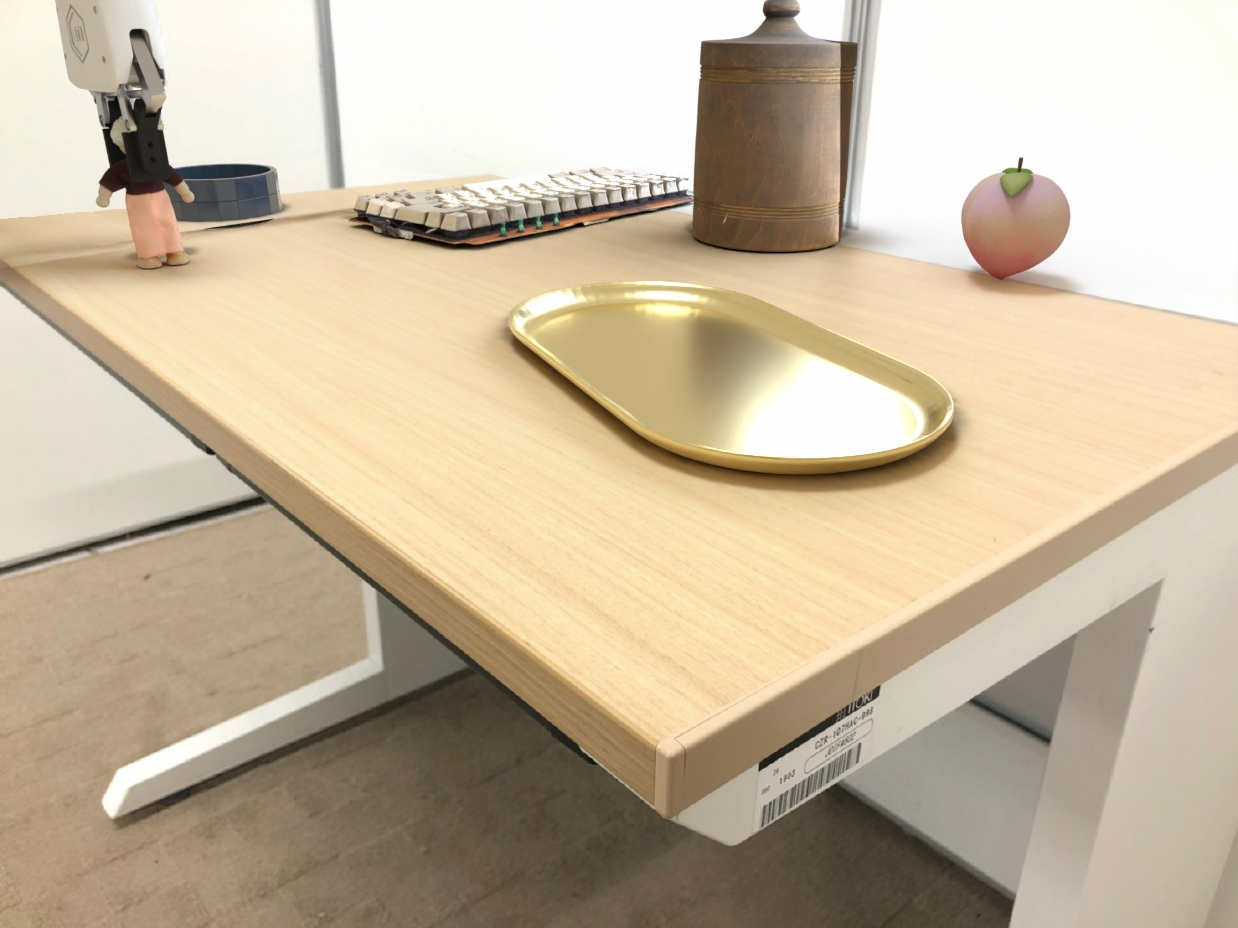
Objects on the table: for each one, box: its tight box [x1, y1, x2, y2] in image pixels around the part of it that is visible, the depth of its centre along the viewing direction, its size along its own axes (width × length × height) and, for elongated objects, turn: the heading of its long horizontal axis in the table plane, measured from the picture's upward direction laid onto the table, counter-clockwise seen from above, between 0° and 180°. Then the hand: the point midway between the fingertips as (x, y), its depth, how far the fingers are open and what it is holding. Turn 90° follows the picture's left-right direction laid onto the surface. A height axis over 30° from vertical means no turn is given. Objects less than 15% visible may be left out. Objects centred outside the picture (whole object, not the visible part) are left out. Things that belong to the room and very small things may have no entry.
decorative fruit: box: [960, 156, 1071, 281], centre depth 82 cm, size 9×8×10 cm
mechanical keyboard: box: [348, 166, 694, 246], centre depth 110 cm, size 38×19×3 cm, turn 139°
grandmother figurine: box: [95, 116, 194, 269], centre depth 85 cm, size 8×4×13 cm, turn 134°
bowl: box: [163, 162, 283, 230], centre depth 107 cm, size 12×12×5 cm
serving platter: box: [507, 280, 955, 475], centre depth 62 cm, size 19×35×2 cm, turn 25°
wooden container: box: [691, 0, 859, 253], centre depth 95 cm, size 15×15×22 cm
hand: (141, 175), depth 85 cm, fingers closed on grandmother figurine, 3 cm apart
